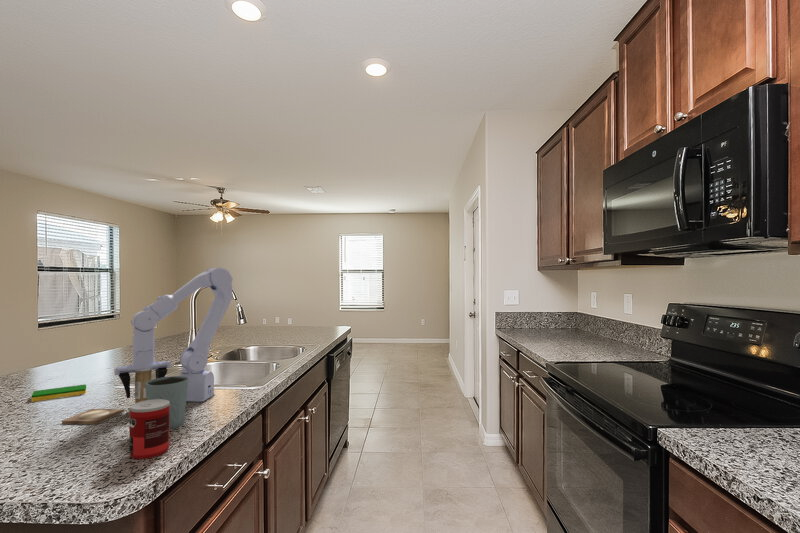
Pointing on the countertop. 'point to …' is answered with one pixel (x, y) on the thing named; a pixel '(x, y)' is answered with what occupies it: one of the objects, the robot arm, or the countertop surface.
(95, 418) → the spice coaster
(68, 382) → the countertop surface
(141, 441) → the canned food
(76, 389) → the dish sponge
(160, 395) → the grey-green tapered cup
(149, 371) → the spice jar
